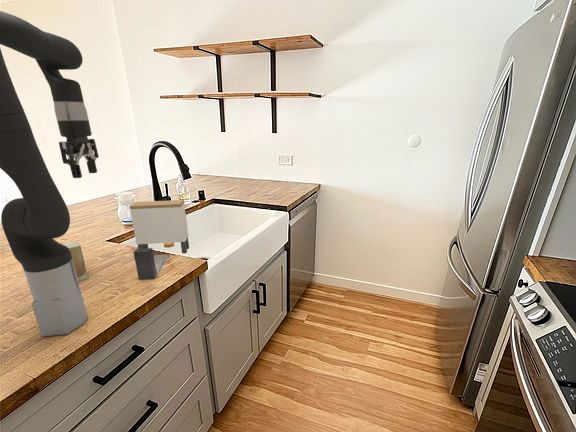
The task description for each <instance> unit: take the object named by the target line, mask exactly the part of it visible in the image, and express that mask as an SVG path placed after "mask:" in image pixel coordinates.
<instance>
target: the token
mask: <svg viewBox="0 0 576 432" xmlns="http://www.w3.org/2000/svg"><path fill="white" fill-rule="evenodd" d="M174 246H175V242H172V243H163V248H173V247H174Z"/></svg>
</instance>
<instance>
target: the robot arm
mask: <svg viewBox="0 0 576 432" xmlns="http://www.w3.org/2000/svg"><path fill="white" fill-rule="evenodd" d="M0 46H4V47H6V48H9V49H11V50H14V51H16V52H18V53H20V54H23V55H25V56H26V57H29V58H32V59H34V60H35V61H36V63H37V65H38V68H39V69H40V70H41V72H42V74H43V77H44V78H45V80H46V82H47V84H48V87H49V88H50V89H49V90H50V93H51V98H52V100H53V105H54V107H53V109H54V114H55V119H56V122H57V127H58V131H59V134H60V136H61V137H62V138H66V139H65V140H66V141H59V142H58V146H59V150H60V154H61V160H62V163H63V164H65V165H68V166H69V167H70V172H71V175H72V178H73V179H81V178H83V174H82V170H81V169H82V168H81V166H80V159H82V158H85V161H86V167H87V170H88V173H89V174H97V173H98V168H97V164H96V161H97V159H98V158H99V152H98V148H97V144H96V141H95V139H94V138H89V137H91V136H92V135H93V134H92V129H91V125H90V119H89V115H88V110H87V108H86V105H85V101H84V95H83V91H82V88H81V85H80V83H79V81H77V80H74V79H71V78H64V77H63V75H62V74H61V72H60V71H61V70H64V71H69V70H70V71H71V70H73V71H74V70H77V69H79V68H80V67H81V66H82V65H83V56H82V53H81V51H80V49H79V48H78V47H77V46H76V44H75V43H73V42H72V41H71V40H69V39H66V37H62V36H61V35H56V34H54V33H50V32H46V31H45V30H44V31H43V30H42V29H40V28H38V27H37V26H35V25H34V24H32V23H30V22H28V21H27V20H26V19H23V18H20V17H18V16H16V15H14V14H11V13H7V12H4V11H1V10H0ZM0 170H2V171H3V172H4V173H5V174H6V175H7V176H8V177H9V178H10V179H11V180H12V181H13V183H14V185H16V187H17V189H18V191H19V192H20V194H21V196H22V197H20V198H15V199H11V200H10V201H8V202H7V203H6V204H5V205H4V207H3V209H2V211H1V218H0V221H1V226H2V229H3V230H2V231H3V233H4V235H5V238H6V240H7V242H8V245H9V247H10V249H11V252H12V255H13V256H14V258H15V260H16V261H17V262H18V263H20V265H21V266H22V269H23V272H24V275H25V278H26V282H27V284H28V287H29V291H30V294H31V296H32V300H33V301H32V302H31V304H30V305H31V308H32V311H33V313H34V317H35V320H36V324H37V326H38V328H39V332H40V334H41V335H40V336H42V337H50V336H52V337H53V336H60V335H61V336H62V335H69V334H70V333H71V332H73V331H74V330H76V329H78V328H79V327H81V326H82V325H83V324H85V323H86V322H87V320H88V317H89V316H88V313H87V309H86V306H85V302H84V297H83V293H82V290H81V286H80V281H79V282H78V278H77V274H76V271H75V267H74V263H73V259H72V255H71V252H70V249H69V248H68V247H67V246H65V245H62V244H63V243H60V242H58V241H57V240H55V239H58V238H61V237H63V236H64V235H65V234H66V233H67V232H68V230H69V228H70V224H71V216H70V212H69V209H68V206H67V204H66V202H65V200H64V198H63V196H62V194H61V192H60V191H59V188H58V187H57V185H56V183H55V181H54V180H53V178H52V176H51V173H50V172H49V171H50V170H49V169H48V167H47V164H46V162H45V160H44V158H43V156H42V153H41V151H40V149H39V145H38V144H37V141H36V138H35V135H34V133H33V129H32V127H31V124H30V122H29V119H28V117H27V114H26V113H25V110H24V107H23V105H22V103H21V100H20V99H19V96H18V94H17V91H16V88H15V86H14V84H13V81H12V78H11V74H10V73H9V70H8V66H7V65H6V62H5V59H4V55H3V52H2V49H1V48H0Z"/></svg>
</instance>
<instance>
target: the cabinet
mask: <svg viewBox="0 0 576 432" xmlns="http://www.w3.org/2000/svg"><path fill="white" fill-rule="evenodd" d="M185 207H186V206H185V200H184V199H178V200H177V199H176V200H171V199H170V200H154V201H151V200H150V201H147V200H146V201H135V202H133V203H132V204H131V205H129V211H130V216H131V221H132V222H131V223H132V227H133V232H134V238H135V243H136V245H137V249H144V248H149V244H151V245H152V244H153V245H154V244H164V243H172V242H174V243H180V248H181V249H180V250H181V254H187V253H188V250H189V249H190V243H189V229H188V223H187V221H188V220H187V215H186V214H187V213H186V208H185Z"/></svg>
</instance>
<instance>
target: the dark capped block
mask: <svg viewBox="0 0 576 432" xmlns="http://www.w3.org/2000/svg"><path fill="white" fill-rule="evenodd" d="M133 257H134V263H135V267H136V272H137V273H136V274H137V278H138V280H139V281H141V280H142V281H144V280H155V279H156V277H157V276H158V274H159V272H160V271H161V269H162V267H164V264H165V263H166V262H167V260H168V258H169V255H168V254H158V255H154V249H153V247H148V248H144V249H138V248H136V249H135V250H134V251H133Z"/></svg>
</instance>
